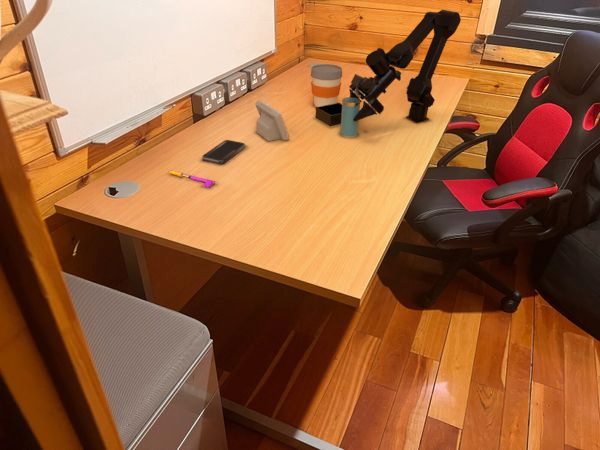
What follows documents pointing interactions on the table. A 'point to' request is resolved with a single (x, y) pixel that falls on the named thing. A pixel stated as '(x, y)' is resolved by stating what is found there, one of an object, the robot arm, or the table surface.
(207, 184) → the multicoloured piece
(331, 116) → the tray
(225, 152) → the phone
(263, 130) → the digital clock
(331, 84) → the reusable coffee cup
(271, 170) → the table surface
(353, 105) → the tin
